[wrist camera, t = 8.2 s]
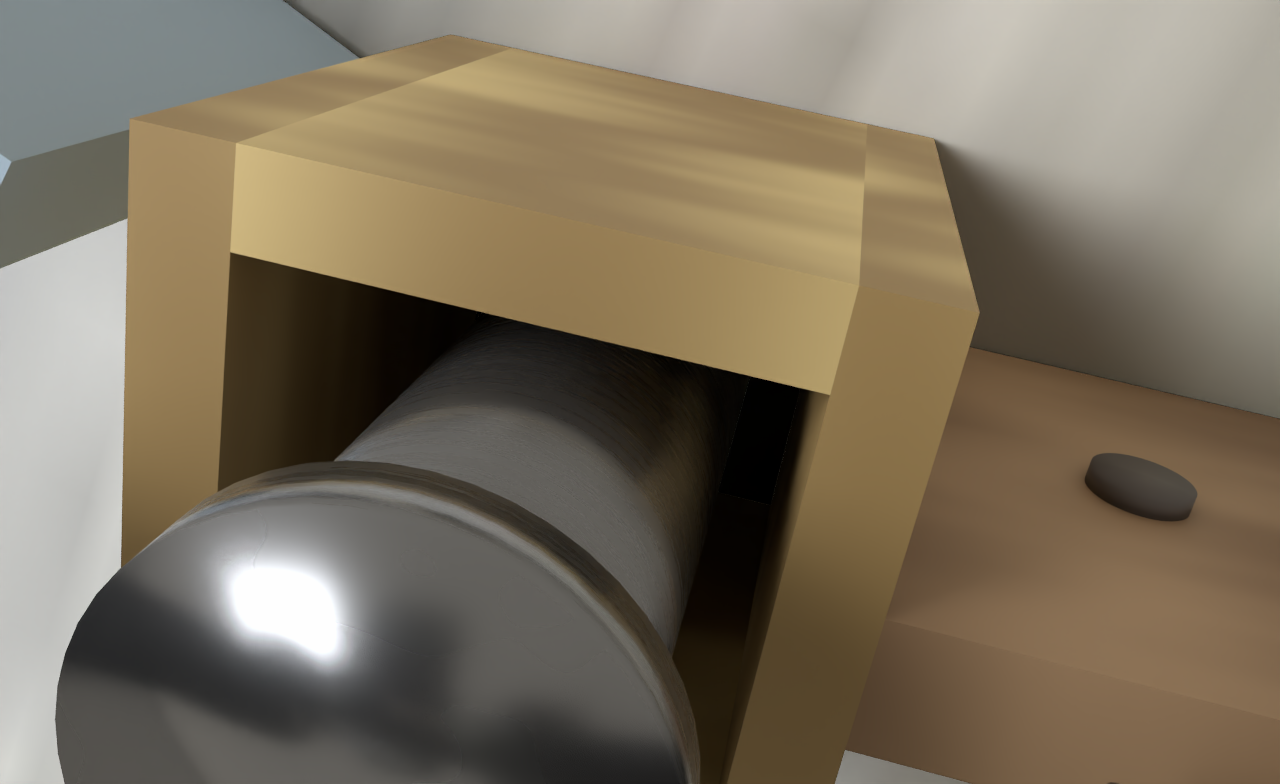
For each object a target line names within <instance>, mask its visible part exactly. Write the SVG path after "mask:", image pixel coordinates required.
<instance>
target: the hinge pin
mask: <svg viewBox="0 0 1280 784" xmlns="http://www.w3.org/2000/svg"><path fill="white" fill-rule="evenodd" d="M750 377H751V376H748V375H744V374H740V373H735V372H731V371H727V370H723V369H719V368H714V367H710V366H706V365H702V364H698V363H693V362H689V361H685V360H681V359H677V358H672V357H668V356H664V355H660V354H656V353H651V352H647V351H643V350H639V349H635V348H631V347H626V346H622V345H618V344H614V343H610V342H605V341H601V340H597V339H593V338H589V337H584V336H580V335H576V334H572V333H568V332H563V331H559V330H555V329H551V328H547V327H542V326H538V325H534V324H530V323H526V322H521V321H517V320H513V319H509V318H505V317H500V316H496V315H492V314H488V313H483V314H482V315H481V316H480V317H479V318H478V319H477V320H476V321H475V322H474V323H473V324H472V325H471V326H470V327H469V328H468V329H467V330H466V331H465V332H464V333H463V334H462V335H461V336H460V337H459V338H458V339H457V340H456V341H455V342H454V343H452V344H451V345H450V346H449V347H448V348H447V349H446V350H445V351H444V352H443V353H442V354H441V355H440V356H439V357H438V358H437V359H436V360H435V361H434V362H433V363H432V364H431V365H430V366H429V367H428V368H427V369H426V370H425V371H424V372H423V373H422V374H421V375H420V376H419V377H418V378H417V379H416V380H415V381H414V382H413V383H412V384H411V385H410V386H409V387H408V388H407V389H406V390H405V391H404V392H403V393H402V394H401V395H400V396H399V397H398V398H397V399H396V400H395V401H394V402H393V403H392V404H391V405H390V406H389V407H388V408H387V409H386V410H385V411H384V412H383V413H382V414H381V415H380V416H379V417H378V418H377V419H376V420H375V421H374V422H372V423H371V424H370V425H369V426H368V427H367V428H366V429H365V430H364V431H363V432H362V433H361V434H360V435H359V436H358V437H357V438H356V439H355V440H354V441H353V442H352V443H351V444H350V445H349V446H348V447H347V448H346V449H345V450H344V451H343V452H342V453H341V454H340V455H339V456H338V457H337V458H336V459H335V460H334V461H328V462H312V463H304V464H299V465H294V466H289V467H284V468H279V469H274V470H270V471H267V472H264V473H261V474H258V475H256V476H253V477H250V478H247V479H244V480H242V481H239V482H236V483H234V484H232V485H230V486H228V487H227V488H225V489H223V490H221V491H219V492H217V493H215V494H214V495H212V496H210V497H208V498H206V499H204V500H203V501H202V502H200V503H199V504H198V505H196V506H195V507H194V508H193V509H191V510H190V511H189V512H187V513H186V514H185V515H183V516H182V517H181V518H180V519H178V520H177V521H176V522H175V523H173V524H172V525H171V526H170V527H169V528H168V529H166V530H165V531H164V532H163V533H162V534H161V535H159V536H158V537H157V538H156V539H155V540H153V541H152V542H151V543H150V544H149V545H148V546H146V547H145V548H144V549H143V550H142V551H141V552H139V553H138V554H137V555H136V556H135V557H134V558H132V559H131V560H130V561H129V562H128V563H126V564H125V565H124V566H123V567H122V568H121V569H120V570H119V571H118V572H117V573H116V574H115V575H114V576H113V577H112V578H111V579H110V580H109V581H108V582H107V584H106V585H105V586H104V587H103V588H102V589H101V590H100V591H99V592H98V593H97V594H96V596H95V597H94V599H93V601H92V602H91V604H90V605H89V607H88V608H87V610H86V611H85V613H84V615H83V616H82V618H81V619H80V621H79V622H78V624H77V627H76V629H75V631H74V634H73V636H72V639H71V641H70V643H69V646H68V648H67V650H66V653H65V657H64V661H63V665H62V669H61V674H60V678H59V682H58V688H57V702H56V717H55V722H56V734H57V747H58V755H59V760H60V764H61V769H62V773H63V778H64V782H65V784H700V751H699V744H698V738H697V731H696V724H695V719H694V716H693V712H692V709H691V706H690V703H689V699H688V696H687V693H686V689H685V686H684V683H683V681H682V679H681V677H680V675H679V672H678V670H677V668H676V666H675V664H674V662H673V659H672V656H673V652H674V648H675V645H676V641H677V638H678V634H679V631H680V627H681V623H682V620H683V616H684V613H685V609H686V606H687V602H688V598H689V595H690V591H691V588H692V584H693V581H694V577H695V573H696V570H697V566H698V563H699V559H700V556H701V552H702V548H703V545H704V541H705V538H706V534H707V531H708V527H709V523H710V520H711V516H712V513H713V509H714V506H715V502H716V498H717V495H718V491H719V488H720V484H721V481H722V477H723V473H724V470H725V466H726V463H727V459H728V456H729V452H730V448H731V445H732V441H733V438H734V434H735V431H736V427H737V423H738V420H739V416H740V413H741V409H742V405H743V402H744V398H745V395H746V391H747V388H748V384H749V380H750Z"/></svg>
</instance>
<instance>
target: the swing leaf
mask: <svg viewBox="0 0 1280 784" xmlns="http://www.w3.org/2000/svg"><path fill="white" fill-rule="evenodd" d="M355 59H359V57H357V56H356V55H355V54H353V53H352V52H351V51H349V50H348V49H347V48H345V47H344V46H343V45H341V44H340V43H339V42H337V41H336V40H335V39H333V38H332V37H331V36H329V35H328V34H327V33H325V32H324V31H323V30H321V29H320V28H319V27H317V26H316V25H315V24H313V23H312V22H311V21H309V20H308V19H307V18H305V17H304V16H303V15H301V14H300V13H299V12H297V11H296V10H295V9H294V8H292V7H291V6H290V5H288V4H287V3H286V2H284V1H283V0H0V268H2V267H5V266H7V265H10V264H12V263H15V262H18V261H20V260H23V259H25V258H28V257H30V256H33V255H35V254H38V253H40V252H43V251H45V250H48V249H51V248H53V247H56V246H58V245H61V244H63V243H66V242H68V241H71V240H73V239H76V238H78V237H81V236H84V235H86V234H89V233H91V232H94V231H96V230H99V229H101V228H104V227H106V226H109V225H111V224H114V223H117V222H119V221H122V220H124V219H127V218H128V176H129V123H130V118H134V117H137V116H141V115H145V114H149V113H153V112H156V111H160V110H164V109H168V108H172V107H176V106H179V105H183V104H187V103H191V102H195V101H199V100H202V99H206V98H210V97H214V96H218V95H221V94H225V93H229V92H233V91H237V90H241V89H244V88H248V87H252V86H256V85H260V84H264V83H267V82H271V81H275V80H279V79H283V78H286V77H290V76H294V75H298V74H302V73H306V72H309V71H313V70H317V69H321V68H325V67H329V66H332V65H336V64H340V63H344V62H348V61H351V60H355Z"/></svg>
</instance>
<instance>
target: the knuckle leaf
mask: <svg viewBox="0 0 1280 784" xmlns="http://www.w3.org/2000/svg"><path fill="white" fill-rule="evenodd" d="M477 311H479V312H484V313H488V314H492V315H496V316H500V317H505V318H509V319H513V320H517V321H521V322H526V323H530V324H534V325H538V326H542V327H547V328H551V329H555V330H559V331H563V332H568V333H572V334H576V335H580V336H584V337H589V338H593V339H597V340H601V341H605V342H610V343H614V344H618V345H622V346H626V347H631V348H635V349H639V350H643V351H647V352H651V353H656V354H660V355H664V356H668V357H672V358H677V359H681V360H685V361H689V362H693V363H698V364H702V365H706V366H710V367H714V368H719V369H723V370H727V371H731V372H735V373H740V374H744V375H748V376H752V377H756V378H761V379H765V380H769V381H773V382H777V383H782V384H786V385H790V386H794V387H798V388H800V391H799V395H798V399H797V403H796V407H795V411H794V414H793V418H792V422H791V426H790V430H789V434H788V438H787V442H786V446H785V450H784V454H783V458H782V462H781V466H780V470H779V473H778V477H777V481H776V485H775V489H774V493H773V497H772V501H771V505H768V504H764V503H760V502H756V501H752V500H748V499H744V498H740V497H736V496H732V495H728V494H724V493H720V492H718V495H717V498H716V502H715V506H714V509H713V513H712V516H711V520H710V523H709V527H708V531H707V534H706V538H705V541H704V545H703V548H702V552H701V556H700V559H699V563H698V566H697V570H696V573H695V577H694V581H693V584H692V588H691V591H690V595H689V598H688V602H687V606H686V609H685V613H684V616H683V620H682V623H681V627H680V631H679V634H678V638H677V641H676V645H675V648H674V652H673V656H672V659H673V662H674V664H675V666H676V668H677V670H678V672H679V675H680V677H681V679H682V681H683V683H684V686H685V689H686V693H687V696H688V699H689V703H690V706H691V709H692V712H693V716H694V719H695V724H696V731H697V738H698V744H699V751H700V784H835V781H836V777H837V774H838V771H839V768H840V764H841V761H842V758H843V755H844V751H845V750H848V751H852V752H856V753H859V754H863V755H867V756H871V757H874V758H878V759H882V760H886V761H889V762H893V763H897V764H901V765H904V766H908V767H912V768H916V769H919V770H923V771H927V772H931V773H934V774H938V775H942V776H946V777H949V778H953V779H957V780H960V781H964V782H968V783H972V784H1107V783H1110V782H1115V783H1119V784H1280V419H1278V418H1274V417H1269V416H1265V415H1261V414H1256V413H1252V412H1248V411H1243V410H1239V409H1235V408H1230V407H1226V406H1222V405H1218V404H1213V403H1209V402H1205V401H1200V400H1196V399H1192V398H1187V397H1183V396H1179V395H1174V394H1170V393H1166V392H1161V391H1157V390H1153V389H1148V388H1144V387H1140V386H1136V385H1131V384H1127V383H1123V382H1118V381H1114V380H1110V379H1105V378H1101V377H1097V376H1092V375H1088V374H1084V373H1079V372H1075V371H1071V370H1066V369H1062V368H1058V367H1054V366H1049V365H1045V364H1041V363H1036V362H1032V361H1028V360H1023V359H1019V358H1015V357H1010V356H1006V355H1002V354H997V353H993V352H989V351H984V350H980V349H976V348H971V347H969V346H970V343H971V340H972V337H973V333H974V330H975V327H976V324H977V320H978V317H979V314H980V312H979V308H978V304H977V300H976V297H975V293H974V289H973V285H972V281H971V278H970V274H969V270H968V266H967V262H966V259H965V255H964V251H963V247H962V243H961V240H960V236H959V232H958V228H957V224H956V220H955V217H954V213H953V209H952V205H951V201H950V198H949V194H948V190H947V186H946V182H945V179H944V175H943V171H942V167H941V163H940V160H939V156H938V152H937V148H936V144H935V141H934V139H933V138H929V137H924V136H919V135H915V134H910V133H905V132H901V131H896V130H892V129H887V128H882V127H878V126H873V125H868V124H864V123H859V122H854V121H850V120H845V119H840V118H836V117H831V116H827V115H822V114H817V113H813V112H808V111H803V110H799V109H794V108H789V107H785V106H780V105H775V104H771V103H766V102H762V101H757V100H752V99H748V98H743V97H738V96H734V95H729V94H724V93H720V92H715V91H710V90H706V89H701V88H696V87H692V86H687V85H683V84H678V83H673V82H669V81H664V80H659V79H655V78H650V77H645V76H641V75H636V74H631V73H627V72H622V71H618V70H613V69H608V68H604V67H599V66H594V65H590V64H585V63H580V62H576V61H571V60H566V59H562V58H557V57H553V56H548V55H543V54H539V53H534V52H529V51H525V50H520V49H515V48H511V47H506V46H501V45H497V44H492V43H487V42H483V41H478V40H474V39H469V38H464V37H460V36H455V35H447V36H443V37H439V38H436V39H432V40H428V41H424V42H420V43H416V44H413V45H409V46H405V47H401V48H397V49H393V50H390V51H386V52H382V53H378V54H374V55H371V56H367V57H363V58H359V59H355V60H351V61H348V62H344V63H340V64H336V65H332V66H329V67H325V68H321V69H317V70H313V71H309V72H306V73H302V74H298V75H294V76H290V77H286V78H283V79H279V80H275V81H271V82H267V83H264V84H260V85H256V86H252V87H248V88H244V89H241V90H237V91H233V92H229V93H225V94H221V95H218V96H214V97H210V98H206V99H202V100H199V101H195V102H191V103H187V104H183V105H179V106H176V107H172V108H168V109H164V110H160V111H156V112H153V113H149V114H145V115H141V116H137V117H134V118H130V123H129V176H128V229H127V282H126V335H125V388H124V441H123V494H122V548H121V568H122V567H123V566H124V565H125V564H126V563H128V562H129V561H130V560H131V559H132V558H134V557H135V556H136V555H137V554H138V553H139V552H141V551H142V550H143V549H144V548H145V547H146V546H148V545H149V544H150V543H151V542H152V541H153V540H155V539H156V538H157V537H158V536H159V535H161V534H162V533H163V532H164V531H165V530H166V529H168V528H169V527H170V526H171V525H172V524H173V523H175V522H176V521H177V520H178V519H180V518H181V517H182V516H183V515H185V514H186V513H187V512H189V511H190V510H191V509H193V508H194V507H195V506H196V505H198V504H199V503H200V502H202V501H203V500H204V499H206V498H208V497H210V496H212V495H214V494H215V493H217V492H219V491H221V490H223V489H225V488H227V487H228V486H230V485H232V484H234V483H236V482H239V481H242V480H244V479H247V478H250V477H253V476H256V475H258V474H261V473H264V472H267V471H270V470H274V469H279V468H284V467H289V466H294V465H299V464H304V463H312V462H328V461H334V460H335V459H336V458H337V457H338V456H339V455H340V454H341V453H342V452H343V451H344V450H345V449H346V448H347V447H348V446H349V445H350V444H351V443H352V442H353V441H354V440H355V439H356V438H357V437H358V436H359V435H360V434H361V433H362V432H363V431H364V430H365V429H366V428H367V427H368V426H369V425H370V424H371V423H372V422H374V421H375V420H376V419H377V418H378V417H379V416H380V415H381V414H382V413H383V412H384V411H385V410H386V409H387V408H388V407H389V406H390V405H391V404H392V403H393V402H394V401H395V400H396V399H397V398H398V397H399V396H400V395H401V394H402V393H403V392H404V391H405V390H406V389H407V388H408V387H409V386H410V385H411V384H412V383H413V382H414V381H415V380H416V379H417V378H418V377H419V376H420V375H421V374H422V373H423V372H424V371H425V370H426V369H427V368H428V367H429V366H430V365H431V364H432V363H433V362H434V361H435V360H436V359H437V358H438V357H439V356H440V355H441V354H442V353H443V352H444V351H445V350H446V349H447V348H448V347H449V346H450V345H451V344H452V343H454V342H455V341H456V340H457V339H458V338H459V337H460V336H461V335H462V334H463V333H464V332H465V331H466V330H467V329H468V328H469V327H470V326H471V325H472V324H473V323H474V322H475V319H476V312H477Z"/></svg>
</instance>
